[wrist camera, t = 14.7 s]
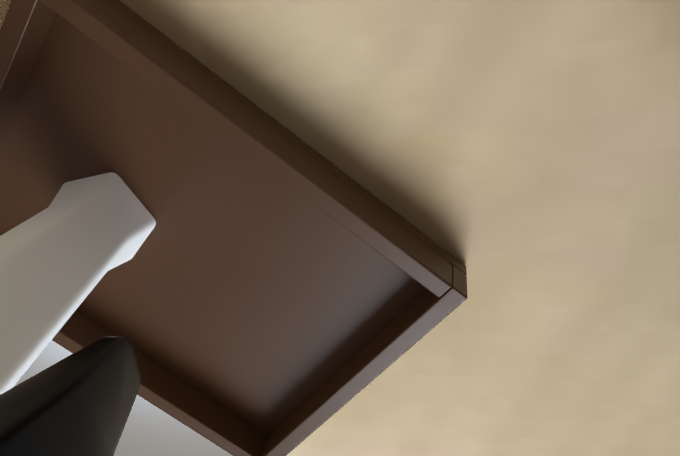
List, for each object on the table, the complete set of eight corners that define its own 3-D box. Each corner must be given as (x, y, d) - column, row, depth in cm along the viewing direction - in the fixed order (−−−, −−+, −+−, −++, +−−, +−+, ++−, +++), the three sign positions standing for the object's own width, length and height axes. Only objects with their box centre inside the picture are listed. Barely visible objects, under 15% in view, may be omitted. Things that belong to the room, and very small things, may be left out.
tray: (466, 266, 22) (468, 298, 20) (275, 439, 28) (263, 475, 26) (65, -41, 19) (25, -36, 17) (-48, 228, 25) (-86, 252, 23)
